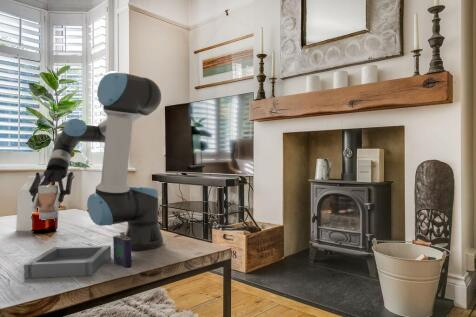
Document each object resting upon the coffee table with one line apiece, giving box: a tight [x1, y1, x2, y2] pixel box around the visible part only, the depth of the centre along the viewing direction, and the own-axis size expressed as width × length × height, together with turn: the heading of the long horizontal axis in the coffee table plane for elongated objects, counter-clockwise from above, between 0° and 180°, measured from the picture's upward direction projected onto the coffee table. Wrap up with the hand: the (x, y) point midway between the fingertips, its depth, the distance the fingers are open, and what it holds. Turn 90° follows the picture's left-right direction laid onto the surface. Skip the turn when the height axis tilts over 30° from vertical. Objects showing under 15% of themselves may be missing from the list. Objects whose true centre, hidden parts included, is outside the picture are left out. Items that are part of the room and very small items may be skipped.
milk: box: [15, 175, 44, 232], centre depth 167 cm, size 12×12×26 cm
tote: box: [23, 244, 112, 279], centre depth 107 cm, size 19×19×4 cm
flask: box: [112, 231, 133, 269], centre depth 109 cm, size 9×3×11 cm, turn 48°
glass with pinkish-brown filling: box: [38, 184, 59, 220], centre depth 126 cm, size 6×6×12 cm
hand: (44, 208), depth 122 cm, fingers closed on glass with pinkish-brown filling, 6 cm apart
